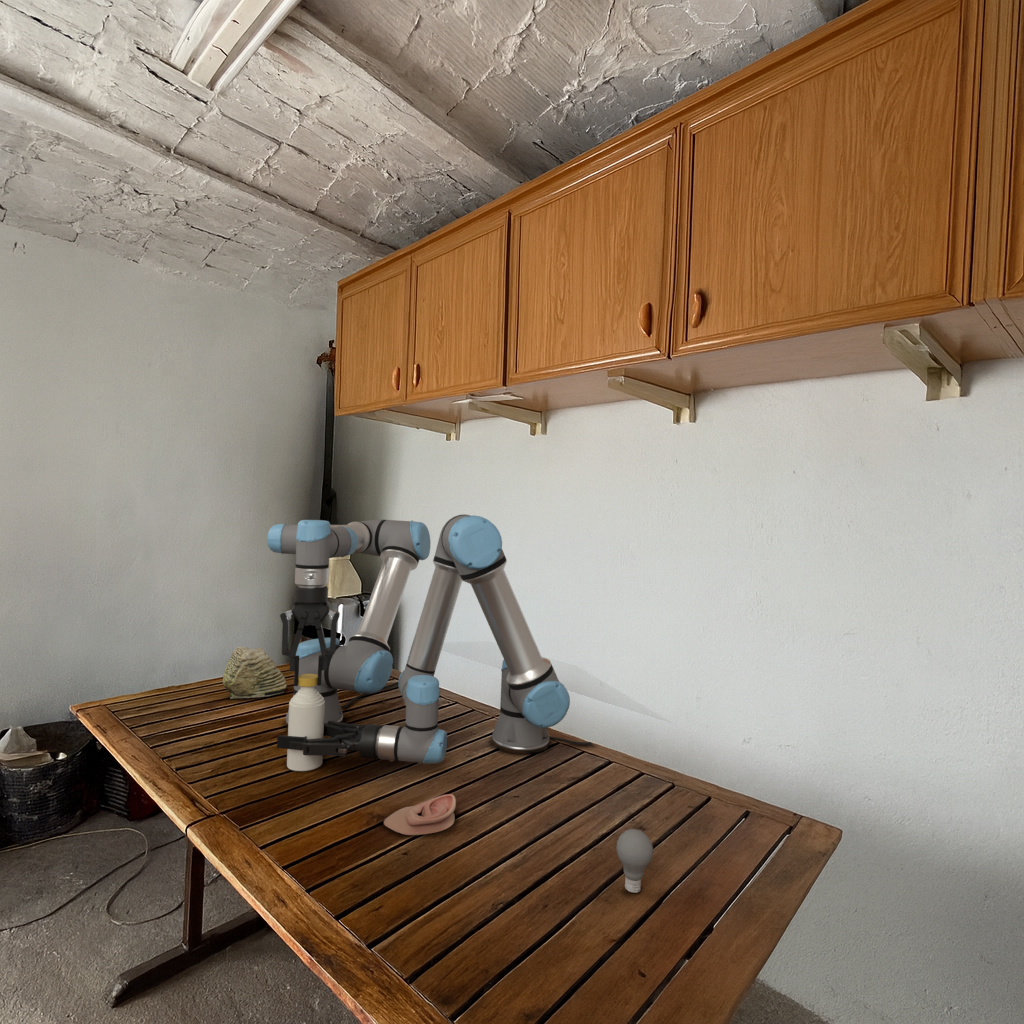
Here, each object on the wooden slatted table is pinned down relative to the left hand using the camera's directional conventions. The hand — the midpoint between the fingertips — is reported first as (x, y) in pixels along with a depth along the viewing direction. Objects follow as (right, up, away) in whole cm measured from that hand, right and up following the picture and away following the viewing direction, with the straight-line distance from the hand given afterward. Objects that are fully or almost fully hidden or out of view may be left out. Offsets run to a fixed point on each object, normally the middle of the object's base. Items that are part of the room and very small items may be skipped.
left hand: (307, 684), depth 149 cm
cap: (0, +2, 0) cm, 2 cm away
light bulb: (+68, -23, -44) cm, 84 cm away
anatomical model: (+30, -21, -24) cm, 44 cm away
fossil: (-32, -17, +49) cm, 61 cm away
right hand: (-5, -12, +1) cm, 13 cm away
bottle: (-1, -19, 0) cm, 19 cm away
